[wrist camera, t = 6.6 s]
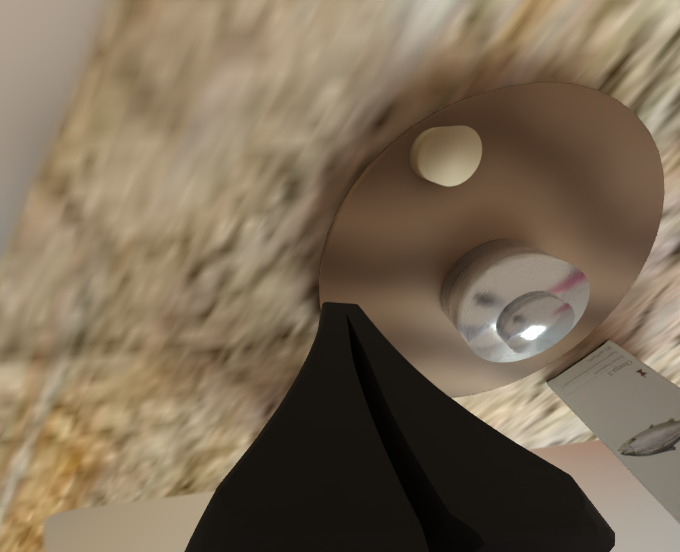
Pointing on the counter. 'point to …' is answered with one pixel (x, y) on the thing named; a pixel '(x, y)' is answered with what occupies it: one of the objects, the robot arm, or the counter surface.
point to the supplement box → (629, 416)
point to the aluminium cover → (512, 299)
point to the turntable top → (495, 217)
